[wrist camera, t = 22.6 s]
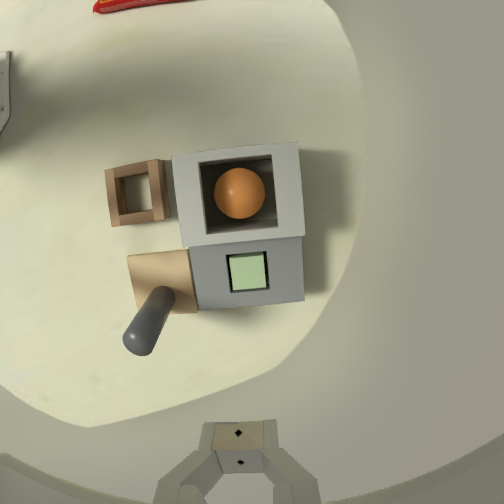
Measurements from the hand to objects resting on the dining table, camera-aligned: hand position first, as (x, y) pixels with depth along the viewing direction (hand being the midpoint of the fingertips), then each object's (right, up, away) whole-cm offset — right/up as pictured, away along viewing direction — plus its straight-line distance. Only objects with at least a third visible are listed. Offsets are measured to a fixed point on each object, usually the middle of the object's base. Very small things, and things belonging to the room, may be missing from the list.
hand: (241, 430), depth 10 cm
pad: (-11, +3, +25) cm, 27 cm away
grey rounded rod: (-11, +2, +24) cm, 27 cm away
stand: (-13, +14, +22) cm, 29 cm away
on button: (0, +6, +24) cm, 25 cm away
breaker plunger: (-1, +14, +22) cm, 26 cm away
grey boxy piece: (0, +10, +23) cm, 25 cm away
